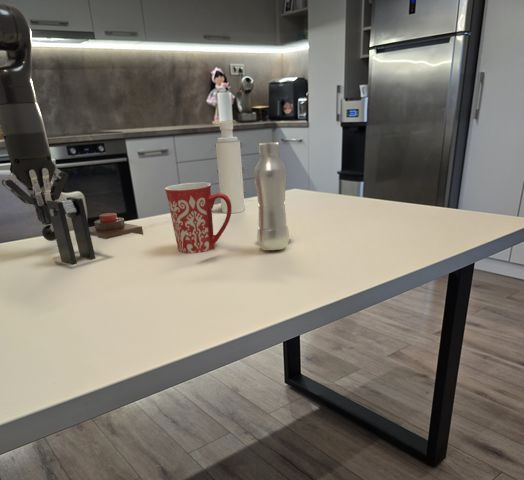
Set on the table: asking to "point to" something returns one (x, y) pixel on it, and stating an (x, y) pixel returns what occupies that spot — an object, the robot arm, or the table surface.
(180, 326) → the table surface
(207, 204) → the mug
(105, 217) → the button
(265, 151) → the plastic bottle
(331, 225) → the table surface
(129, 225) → the button block
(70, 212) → the tap lever
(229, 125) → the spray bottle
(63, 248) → the bracket
